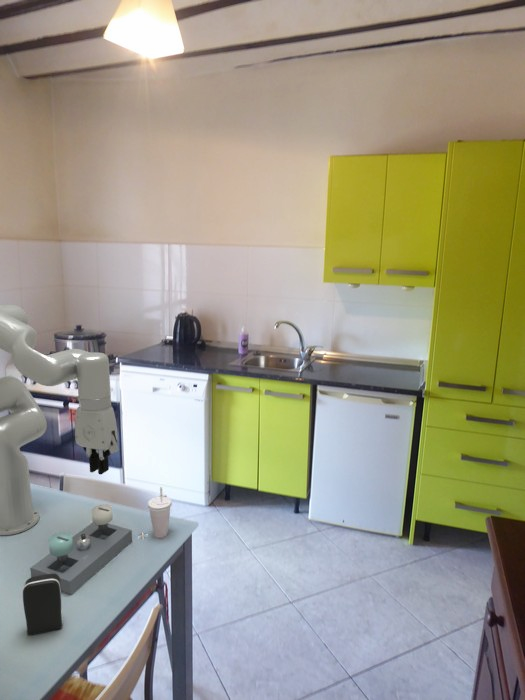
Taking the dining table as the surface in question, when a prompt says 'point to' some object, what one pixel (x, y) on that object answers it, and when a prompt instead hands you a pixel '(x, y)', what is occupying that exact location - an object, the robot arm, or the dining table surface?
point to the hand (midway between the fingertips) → (99, 470)
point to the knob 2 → (102, 516)
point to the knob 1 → (61, 545)
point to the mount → (85, 556)
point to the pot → (83, 542)
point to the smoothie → (160, 514)
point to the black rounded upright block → (43, 603)
